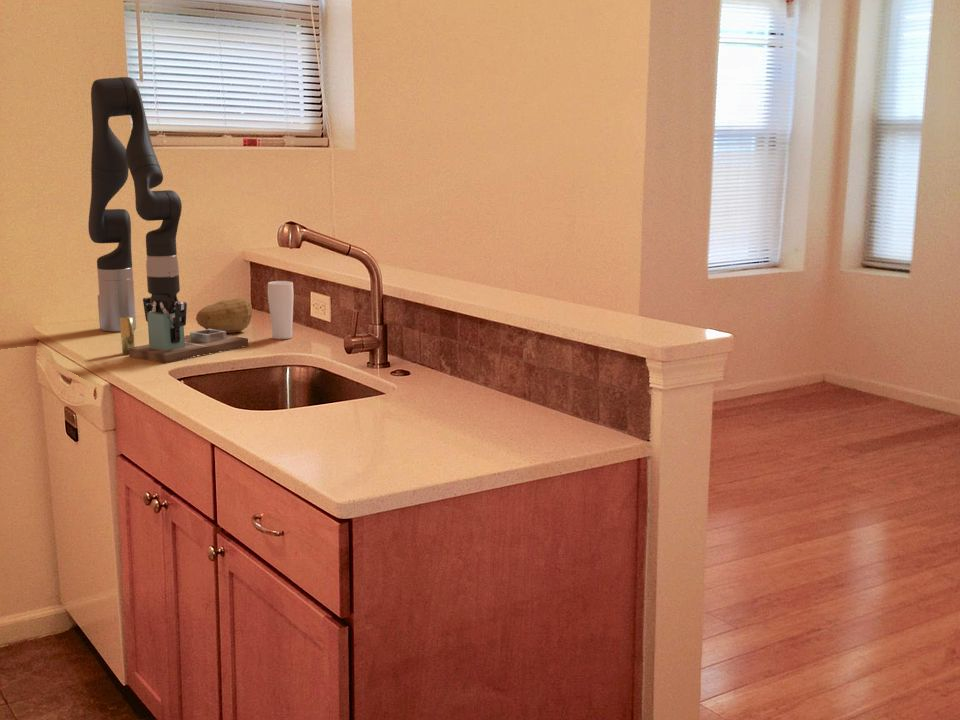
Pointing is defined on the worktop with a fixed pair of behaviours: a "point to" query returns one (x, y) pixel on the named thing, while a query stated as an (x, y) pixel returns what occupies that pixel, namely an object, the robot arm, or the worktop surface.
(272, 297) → the drinking glass
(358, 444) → the worktop surface
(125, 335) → the pin
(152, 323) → the block
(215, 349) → the board
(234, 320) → the potato
